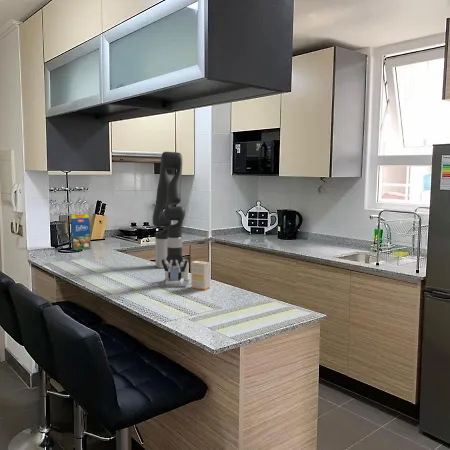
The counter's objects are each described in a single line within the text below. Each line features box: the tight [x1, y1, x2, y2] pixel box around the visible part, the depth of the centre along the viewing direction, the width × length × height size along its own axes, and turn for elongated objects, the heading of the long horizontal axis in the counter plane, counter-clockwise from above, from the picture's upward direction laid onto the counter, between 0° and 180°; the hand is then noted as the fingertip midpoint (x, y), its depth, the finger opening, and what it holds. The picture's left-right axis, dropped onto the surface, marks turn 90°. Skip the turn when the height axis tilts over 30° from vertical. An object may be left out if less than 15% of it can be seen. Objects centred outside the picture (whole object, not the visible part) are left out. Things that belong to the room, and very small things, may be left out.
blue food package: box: [70, 213, 91, 251], centre depth 329 cm, size 6×12×25 cm, turn 121°
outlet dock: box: [159, 262, 190, 288], centre depth 232 cm, size 13×13×10 cm
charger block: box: [170, 268, 179, 281], centre depth 232 cm, size 4×4×6 cm
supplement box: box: [190, 260, 211, 291], centre depth 224 cm, size 8×5×13 cm, turn 56°
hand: (174, 279), depth 233 cm, fingers closed on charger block, 3 cm apart
